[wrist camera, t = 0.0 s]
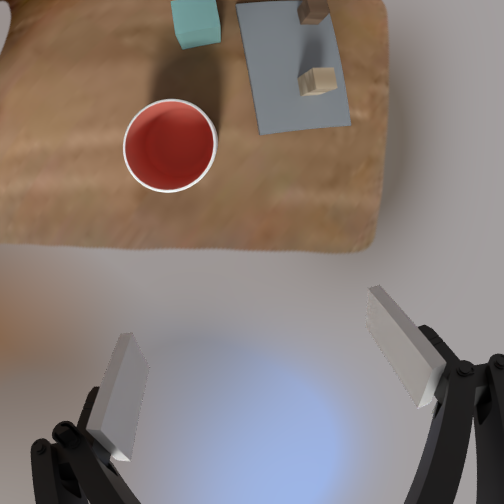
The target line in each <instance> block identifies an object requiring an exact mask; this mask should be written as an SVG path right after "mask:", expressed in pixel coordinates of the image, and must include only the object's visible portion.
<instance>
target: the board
mask: <svg viewBox="0 0 504 504" xmlns="http://www.w3.org/2000/svg"><path fill="white" fill-rule="evenodd" d="M302 2H303V1H268V2H253V3H243V4H236V12H237V17H238V22H239V27H240V32H241V37H242V42H243V48H244V53H245V58H246V63H247V69H248V74H249V80H250V85H251V91H252V96H253V102H254V107H255V113H256V119H257V125H258V131H259V135H265V134H272V133H280V132H287V131H296V130H305V129H314V128H325V127H337V126H351V120H350V113H349V106H348V100H347V94H346V88H345V82H344V76H343V71H342V66H341V61H340V56H339V51H338V46H337V42H336V37H335V33H334V29H333V25H332V21H331V17H330V13H329V14H328V15H327V16H326V17H325V18H324V19H323V20H322V21H321V22H320V23H319V24H318V25H300V21H299V17H298V12H297V9H298V7H299V6H300V5H301V3H302ZM330 67H334V71H335V76H336V82H337V87H338V88H337V89H334V90H331V91H328V92H325V93H323V94H320V95H310V96H300V91H299V85H298V80H297V78H299V77H300V76H301V75H303V74H304V73H306V72H307V71H309V70H310V69H312V68H330Z"/></svg>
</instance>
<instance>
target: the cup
mask: <svg viewBox="0 0 504 504" xmlns="http://www.w3.org/2000/svg"><path fill="white" fill-rule="evenodd" d="M217 148H218V136H217V132H216V129H215V126H214V124H213V123H212V121H211V120H210V119H209V117H208V116H207V115H206V114H205V113H204V112H203V111H202V110H201V109H200V108H199V107H197V106H196V105H194V104H192V103H190V102H188V101H185V100H180V99H164V100H159V101H156V102H153V103H151V104H149V105H147V106H146V107H144V108H143V109H142V110H140V111H139V112H138V113H137V114H136V115H135V117H134V118H133V119H132V120H131V122H130V124H129V125H128V128H127V130H126V133H125V136H124V141H123V154H124V159H125V163H126V165H127V168H128V169H129V171H130V173H131V174H132V176H133V177H134V178H135V179H136V180H137V181H138V182H139V183H141V184H142V185H144V186H145V187H147V188H149V189H152V190H154V191H158V192H177V191H181V190H184V189H187V188H189V187H191V186H192V185H194V184H195V183H197V182H198V181H199V180H201V179H202V178H203V177H204V175H205V174H206V173H207V172H208V170H209V169H210V167H211V165H212V163H213V160H214V158H215V155H216V152H217Z"/></svg>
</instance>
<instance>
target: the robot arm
mask: <svg viewBox="0 0 504 504" xmlns="http://www.w3.org/2000/svg"><path fill="white" fill-rule="evenodd" d="M366 328H367V330H368V331H369V333H370V334H371V336H372V337H373V339H374V340H375V342H376V343H377V345H378V347H379V348H380V350H381V351H382V353H383V354H384V356H385V357H386V359H387V361H388V362H389V364H390V365H391V367H392V368H393V370H394V372H395V373H396V375H397V376H398V378H399V380H400V381H401V383H402V384H403V386H404V387H405V389H406V391H407V392H408V394H409V396H410V398H411V399H412V401H413V402H414V404H415V405H416V407H417V408H420V407H422V406H425V405H427V404H429V403H430V402H431V401H432V398H433V396H435V397H436V398H437V400H438V401H437V403H436V405H435V407H434V409H433V411H432V413H433V414H434V415H433V419H432V423H431V427H430V431H429V434H428V438H427V441H426V444H425V448H424V451H423V454H422V457H421V460H420V463H419V466H418V469H417V472H416V475H415V477H414V480H413V483H412V485H411V488H410V491H409V493H408V495H407V498H406V500H405V502H404V504H453V502H454V499H455V496H456V493H457V490H458V486H459V483H460V479H461V475H462V471H463V467H464V463H465V458H466V454H467V449H468V444H469V438H470V433H471V426H472V419H473V417H474V427H475V438H476V454H477V501H476V504H504V355H503V354H495V355H493V356H491V357H490V360H489V362H488V363H485V364H480V365H473V364H472V363H471V362H469V361H465V360H461V361H460V360H459V359H458V357H457V356H456V355H455V354H454V353H453V351H452V350H451V349H450V348H449V347H448V346H447V345H446V343H445V342H443V340H442V339H441V338H440V337H439V335H438V334H437V333H436V332H435V331H434V330H433V329H432V328H430V327H428V326H426V325H422V326H419V327H417V326H416V325H415V324H414V323H413V322H412V321H411V320H410V318H409V317H408V316H407V315H406V314H405V313H404V311H403V310H402V309H401V308H400V307H399V306H398V305H397V304H396V302H395V301H394V300H393V299H392V298H391V297H390V296H389V295H388V294H387V293H386V292H385V290H384V289H383V288H382V287H381V286H380V285H379V286H374V287H371V288H368V297H367V314H366ZM149 368H150V367H149V365H148V363H147V361H146V359H145V357H144V356H143V353H142V352H141V350H140V347H139V345H138V344H137V342H136V339H135V337H134V335H133V333H124V334H121V335H120V337H119V339H118V342H117V344H116V346H115V349H114V352H113V354H112V357H111V359H110V362H109V364H108V367H107V369H106V372H105V375H104V377H103V380H102V383H101V386H100V387H94V388H93V389H92V390H91V391H90V392H89V394H88V396H87V399H86V403H85V404H84V407H83V410H82V412H81V416H80V418H79V421H78V424H77V427H75V426H74V424H73V423H72V422H70V421H63V422H60V423H59V424H57V425H56V426H55V428H54V429H53V432H52V438H53V439H54V440H55V441H56V442H57V443H55V444H51V443H50V442H49V441H47V440H46V439H44V438H42V439H38V440H36V441H35V442H34V443H33V445H32V446H31V465H32V477H33V486H34V494H35V501H36V504H89V503H88V500H89V502H90V504H141V503H140V502H139V500H138V499H137V498H136V497H135V495H134V494H133V493H132V491H131V490H130V489H129V487H128V486H127V484H126V483H125V482H124V480H123V479H122V477H121V476H120V474H119V473H118V471H117V470H116V468H115V467H114V465H113V463H112V462H111V461H110V456H111V455H112V456H113V457H114V458H115V459H116V460H120V461H131V457H132V451H133V445H134V440H135V434H136V429H137V424H138V419H139V413H140V409H141V404H142V399H143V395H144V390H145V386H146V381H147V377H148V372H149ZM87 499H88V500H87Z"/></svg>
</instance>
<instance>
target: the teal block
mask: <svg viewBox="0 0 504 504" xmlns="http://www.w3.org/2000/svg"><path fill="white" fill-rule="evenodd" d="M171 7H172V14H173V21H174V28H175V34H176V37H177V39H178V41H179V43H180V45H181V47H182V49H183V50H184V49H188V48H193V47H198V46H203V45H208V44H213V43H219V42H221V28H220V21H219V16H218V10H217V5H216V0H175V1H171Z"/></svg>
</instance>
